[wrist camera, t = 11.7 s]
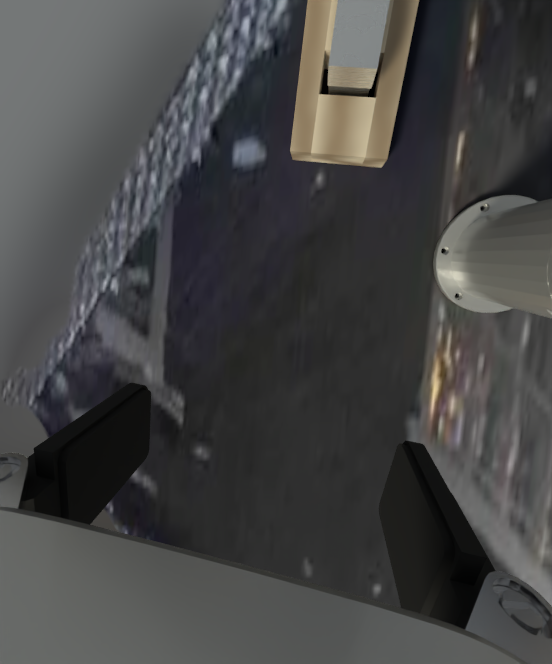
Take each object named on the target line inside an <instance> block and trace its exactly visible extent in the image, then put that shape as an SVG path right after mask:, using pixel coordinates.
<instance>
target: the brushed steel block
mask: <svg viewBox="0 0 552 664" xmlns="http://www.w3.org/2000/svg"><path fill="white" fill-rule="evenodd" d="M389 3H390V0H338V3H337V10H336V17H335V23H334V30H333V37H332V44H331V51H330V58H329V65H328V86H329V94H328V95H340V96H356V97H368V93H369V90H370V89H371V88H372V85H373V81H374V78H375V75H376V72H377V68H378V63H379V57H380V52H381V46H382V41H383V35H384V30H385V25H386V19H387V14H388V8H389Z"/></svg>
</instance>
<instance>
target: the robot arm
mask: <svg viewBox="0 0 552 664" xmlns="http://www.w3.org/2000/svg"><path fill="white" fill-rule="evenodd" d="M480 207H482V208H483V210H482V211H481V210H480ZM442 249H444V252H443V253H441V250H442ZM433 268H434V275H435V278H436V282H437V284H438V286H439V288H440V289H441V291H442V292H443V294H444V295H445V296H446V297H447V298H448V299H449V300H451V301H452V302H453V303H455V304H456V305H458V306H461V307H463V308H465V309H468V310H471V311H474V312H482V313H497V312H501V311H506V310H510V309H512V308H516V309H519V310H523V311H526V312H530V313H534V314H537V315H541V316H544V317H548V318H552V199H548V200H544V201H540V202H539V201H536V200H534V199H532V198H529V197H525V196H520V195H502V196H496V197H491V198H488V199H485V200H482V201H480V202H478V203H476V204H473V205H471V206H469V207H468V208H466V209H465V210H464V211H462V212H461V213H459V214H458V215H457V216H456V217H455V218H454V219H453V220H452V221H451V222H450V223H449V224H448V226H447V227H446V228H445V230H444V231H443V233H442V235H441V237H440V238H439V240H438V242H437V246H436V249H435V252H434V260H433ZM456 293H457V297H455V294H456ZM150 408H151V392H150V391H149V390H148V389H147V387H146V386H145V385H140V384H135V383H129V384H128V385H126V386H125V387H123V388H122V389H120V390H119V391H117V392H116V393H114V394H113V395H111V396H110V397H109V398H107V399H106V400H104V401H103V402H101V403H100V404H98V405H97V406H95V407H94V408H92V409H91V410H89V411H88V412H86V413H85V414H84V415H82V416H81V417H79V418H78V419H76V420H75V421H73V422H72V423H70V424H69V425H67V426H66V427H64V428H63V429H61V430H60V431H59V432H57V433H56V434H54V435H53V436H51V437H50V438H48V439H47V440H45V441H44V442H42V443H41V444H39V445H38V446H37V447H35V448H34V454H32V455H31V456H29V457H28V458H27V457H26V456H24V455H22V454H19V453H2V454H0V664H552V606H551V605H550V604H549V603H548V602H547V601H546V600H545V599H544V598H543V597H542V596H541V595H540V594H539V593H538V592H537V591H536V590H534V589H533V588H532V587H531V586H529V585H528V584H527V583H525V582H523V581H522V580H520V579H519V578H517V577H515V576H513V575H510V574H508V573H505V572H499V571H495V569H494V567H493V566H492V564H491V562H490V560H489V558H488V557H487V555H486V553H485V551H484V550H483V548H482V546H481V544H480V542H479V541H478V539H477V537H476V535H475V534H474V532H473V530H472V528H471V526H470V525H469V523H468V521H467V519H466V517H465V516H464V514H463V512H462V510H461V509H460V507H459V505H458V503H457V501H456V500H455V498H454V496H453V495H452V493H451V492H450V491H449V489H448V487H447V485H446V483H445V482H444V480H443V478H442V476H441V475H440V473H439V471H438V469H437V467H436V466H435V464H434V462H433V460H432V458H431V457H430V455H429V453H428V451H427V449H426V448H425V446H424V445H423V444H420V443H415V442H410V441H405V442H404V443H403V444H399V445H398V446H397V449H396V452H395V456H394V459H393V462H392V465H391V468H390V472H389V475H388V478H387V481H386V484H385V488H384V491H383V494H382V497H381V500H380V504H379V515H380V519H381V524H382V528H383V532H384V536H385V540H386V545H387V549H388V553H389V557H390V562H391V566H392V570H393V574H394V578H395V583H396V587H397V591H398V595H399V600H400V604H401V608H399V607H396V606H392V605H389V604H385V603H382V602H378V601H375V600H372V599H368V598H365V597H361V596H358V595H354V594H350V593H347V592H343V591H339V590H336V589H332V588H328V587H324V586H321V585H317V584H313V583H310V582H306V581H302V580H299V579H295V578H291V577H288V576H284V575H280V574H277V573H273V572H269V571H265V570H262V569H258V568H254V567H250V566H246V565H243V564H239V563H235V562H231V561H228V560H224V559H220V558H216V557H213V556H209V555H205V554H201V553H197V552H193V551H190V550H186V549H182V548H178V547H174V546H171V545H167V544H163V543H159V542H155V541H151V540H147V539H143V538H140V537H136V536H132V535H128V534H124V533H120V532H116V531H112V530H108V529H104V528H101V527H96V526H93V525H90V524H91V523H92V522H93V520H94V519H95V518H96V517H97V516H98V514H99V513H100V512H101V511H102V510H103V509H104V507H105V506H106V505H107V504H108V503H109V501H110V500H111V499H112V498H113V497H114V496H115V494H116V493H117V492H118V491H119V490H120V488H121V487H122V486H123V485H124V484H125V483H126V481H127V480H128V479H129V478H130V477H131V475H132V474H133V473H134V472H135V471H136V470H137V468H138V467H139V466H140V465H141V464H142V462H143V461H144V460H145V459H146V457H147V455H148V452H149V439H150Z"/></svg>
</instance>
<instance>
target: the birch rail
mask: <svg viewBox="0 0 552 664" xmlns="http://www.w3.org/2000/svg"><path fill="white" fill-rule="evenodd" d="M337 3H338V0H308V4H307V12H306V21H305V29H304V38H303V46H302V55H301V63H300V72H299V81H298V89H297V98H296V106H295V115H294V123H293V132H292V140H291V149H290V152H291V155H292V159H293V160H300V161H311V162H323V163H334V164H345V165H356V166H368V167H379V168H382V166H383V165H384V163H385V162H386V160H387V158H388V153H389V148H390V143H391V138H392V133H393V128H394V123H395V118H396V113H397V108H398V103H399V98H400V93H401V88H402V83H403V78H404V73H405V68H406V63H407V58H408V53H409V48H410V43H411V38H412V33H413V28H414V23H415V18H416V13H417V8H418V3H419V0H390V3H389V8H388V14H387V19H386V25H385V30H384V35H383V41H382V46H381V52H380V57H379V63H378V68H377V72H378V76H377V82H376V87H375V93H374V98H372V97H356V96H340V95H324V94H321V91H322V83H323V76H324V69H328V65H329V58H330V51H331V44H332V37H333V30H334V23H335V17H336V10H337Z"/></svg>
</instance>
